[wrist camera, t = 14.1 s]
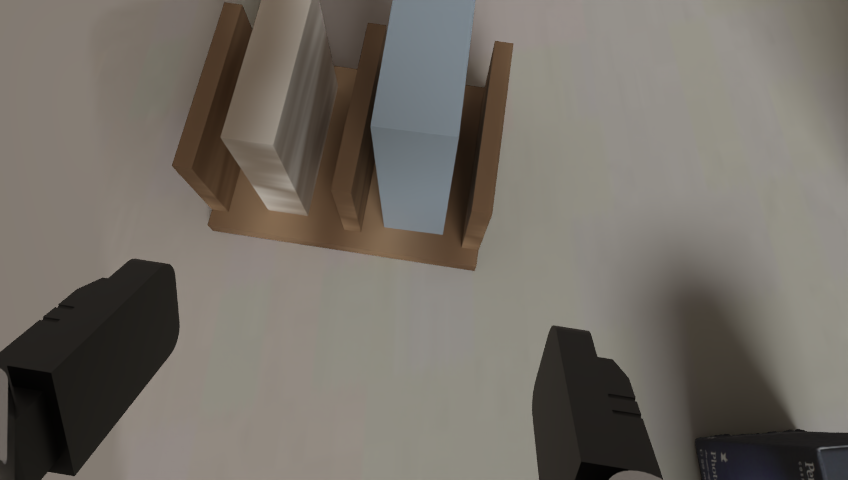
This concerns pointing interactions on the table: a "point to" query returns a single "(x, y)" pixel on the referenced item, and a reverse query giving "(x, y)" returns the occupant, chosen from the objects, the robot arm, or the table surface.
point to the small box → (774, 456)
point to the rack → (322, 141)
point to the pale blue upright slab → (420, 110)
